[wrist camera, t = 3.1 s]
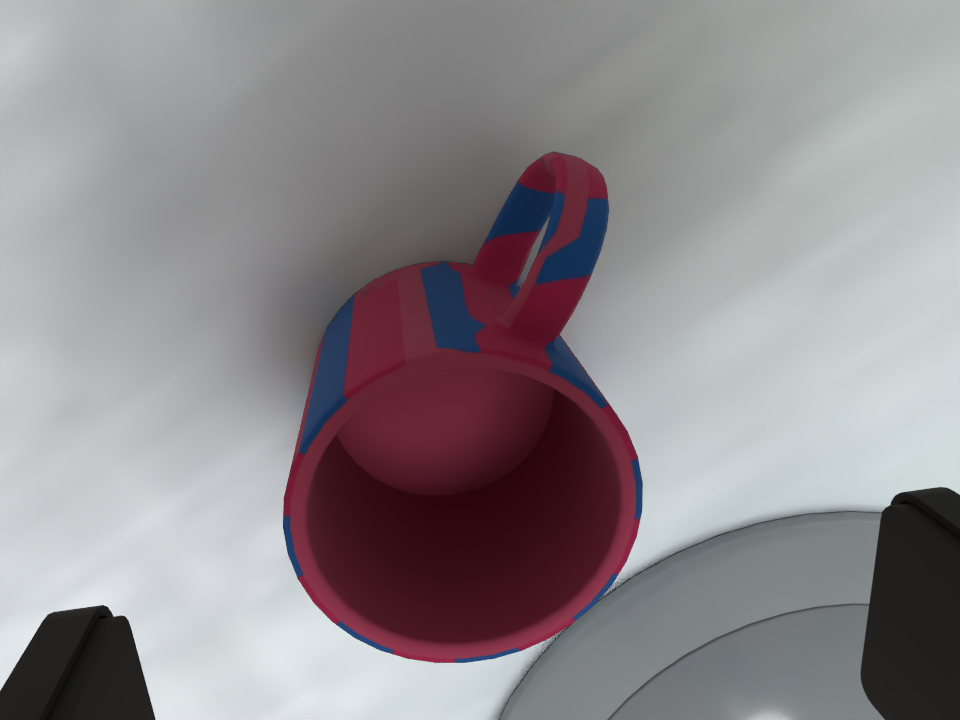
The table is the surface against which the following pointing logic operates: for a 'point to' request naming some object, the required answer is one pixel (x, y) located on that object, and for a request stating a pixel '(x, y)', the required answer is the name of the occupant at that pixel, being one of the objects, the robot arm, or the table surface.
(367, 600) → the cup
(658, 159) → the table surface
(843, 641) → the dish
